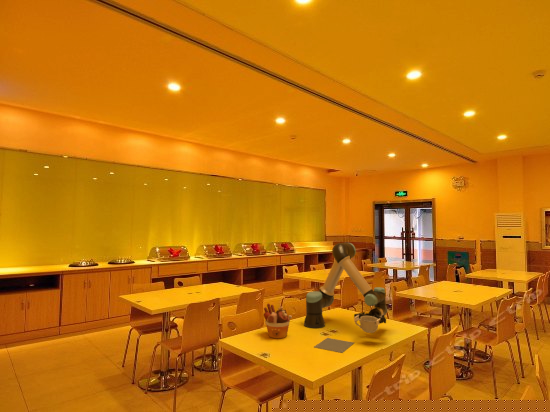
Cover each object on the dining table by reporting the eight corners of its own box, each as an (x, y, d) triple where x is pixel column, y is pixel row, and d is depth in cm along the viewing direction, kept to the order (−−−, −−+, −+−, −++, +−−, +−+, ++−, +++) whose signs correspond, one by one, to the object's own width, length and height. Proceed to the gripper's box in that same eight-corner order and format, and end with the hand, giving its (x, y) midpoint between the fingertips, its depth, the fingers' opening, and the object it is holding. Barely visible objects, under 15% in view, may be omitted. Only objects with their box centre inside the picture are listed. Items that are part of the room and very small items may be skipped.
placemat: (313, 347, 200) (313, 346, 200) (327, 338, 217) (327, 337, 217) (342, 353, 190) (342, 352, 190) (354, 342, 207) (354, 342, 207)
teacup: (377, 329, 211) (377, 316, 211) (379, 334, 200) (379, 321, 201) (354, 327, 214) (354, 315, 214) (355, 333, 203) (355, 319, 204)
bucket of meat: (296, 336, 220) (296, 305, 222) (277, 342, 209) (277, 309, 211) (276, 330, 235) (276, 301, 237) (257, 335, 224) (257, 304, 226)
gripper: (395, 322, 216) (386, 331, 198) (357, 316, 229) (346, 324, 211) (395, 310, 216) (386, 318, 198) (357, 305, 230) (346, 312, 212)
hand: (365, 321), depth 205 cm, fingers closed on teacup, 13 cm apart
